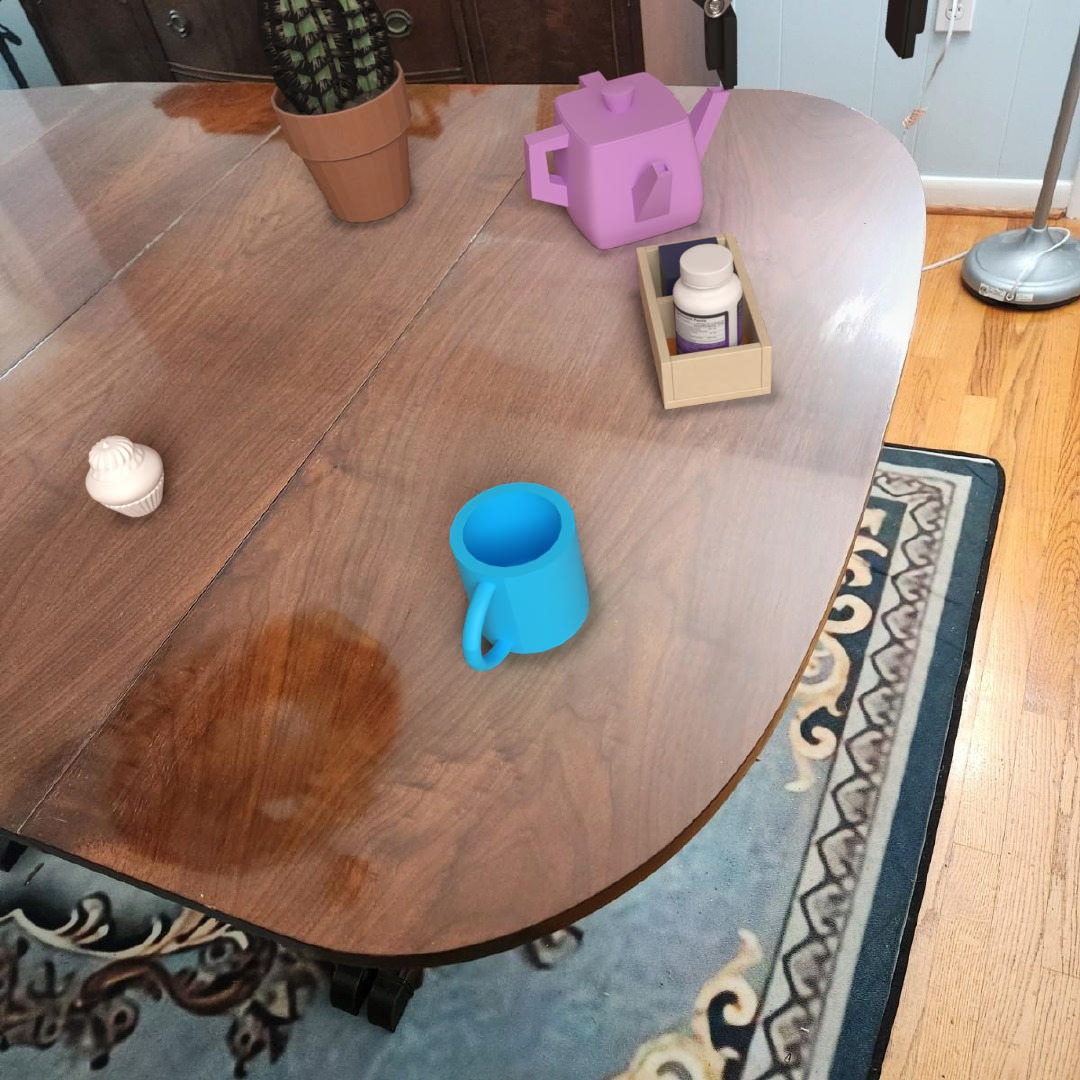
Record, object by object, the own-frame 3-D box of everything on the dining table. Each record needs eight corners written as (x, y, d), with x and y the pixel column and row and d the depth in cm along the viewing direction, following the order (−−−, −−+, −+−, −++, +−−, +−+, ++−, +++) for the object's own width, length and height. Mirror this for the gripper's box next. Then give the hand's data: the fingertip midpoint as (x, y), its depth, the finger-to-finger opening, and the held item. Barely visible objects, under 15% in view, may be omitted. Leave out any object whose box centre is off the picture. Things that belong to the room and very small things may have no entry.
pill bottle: (706, 331, 86) (703, 230, 79) (756, 355, 83) (757, 252, 76) (663, 363, 84) (655, 263, 77) (712, 389, 81) (709, 287, 74)
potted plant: (415, 233, 105) (344, -22, 87) (295, 238, 108) (202, -8, 90) (445, 165, 114) (386, -80, 95) (333, 172, 117) (255, -65, 98)
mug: (504, 549, 74) (483, 471, 68) (607, 575, 71) (594, 496, 65) (428, 680, 67) (397, 606, 61) (538, 715, 64) (516, 641, 58)
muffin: (104, 493, 85) (63, 432, 80) (175, 467, 86) (138, 406, 81) (110, 541, 81) (66, 481, 76) (183, 514, 82) (146, 452, 77)
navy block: (717, 285, 90) (716, 236, 86) (727, 318, 87) (726, 268, 83) (661, 293, 90) (658, 245, 87) (669, 327, 87) (666, 278, 83)
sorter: (733, 278, 92) (733, 231, 88) (771, 394, 81) (772, 346, 77) (639, 293, 92) (635, 247, 89) (664, 410, 81) (661, 363, 78)
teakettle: (590, 155, 110) (577, 40, 101) (738, 172, 103) (738, 50, 94) (517, 240, 101) (494, 122, 92) (673, 266, 94) (666, 141, 85)
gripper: (1002, -383, 46) (946, 10, 58) (625, -305, 47) (650, 63, 60) (1069, -358, 41) (992, 65, 53) (645, -272, 42) (667, 121, 55)
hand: (811, 64), depth 57 cm, fingers open, 9 cm apart
